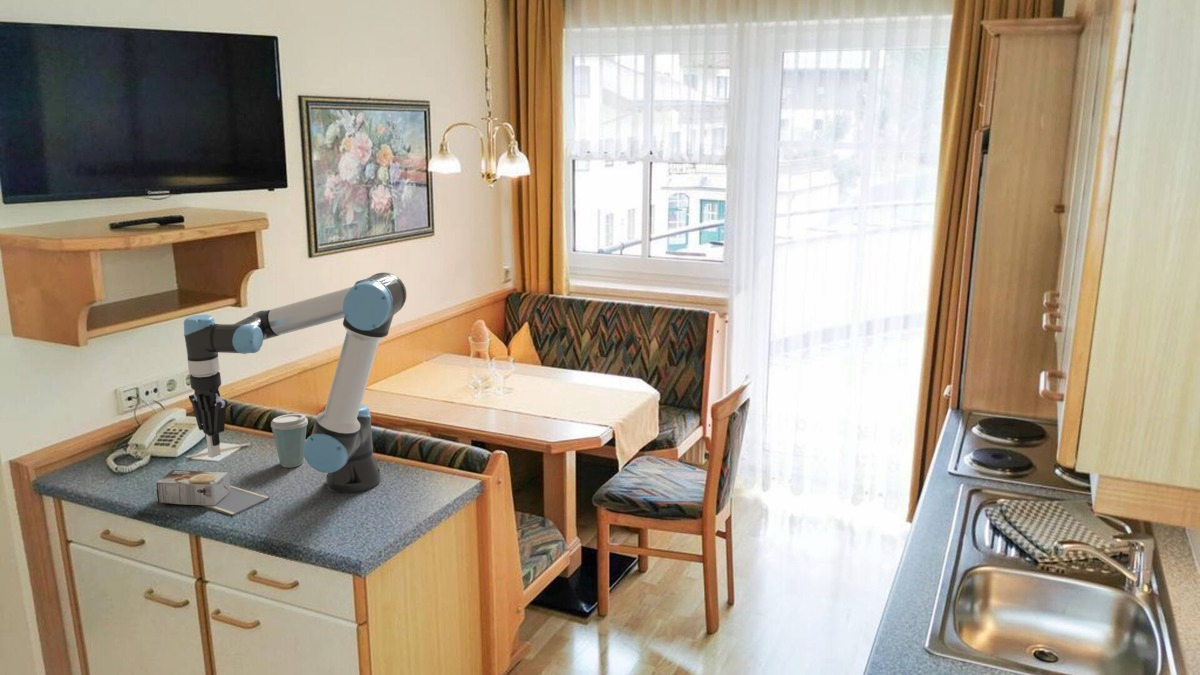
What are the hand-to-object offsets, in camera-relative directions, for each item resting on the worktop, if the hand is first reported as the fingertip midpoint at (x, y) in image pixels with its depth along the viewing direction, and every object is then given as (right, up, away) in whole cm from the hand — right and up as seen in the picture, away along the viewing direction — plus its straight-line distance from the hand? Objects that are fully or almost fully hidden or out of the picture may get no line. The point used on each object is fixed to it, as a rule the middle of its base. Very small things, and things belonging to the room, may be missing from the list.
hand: (214, 455), depth 247 cm
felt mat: (0, -12, +3) cm, 12 cm away
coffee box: (+2, -9, 0) cm, 9 cm away
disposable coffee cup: (+12, -6, +26) cm, 30 cm away
